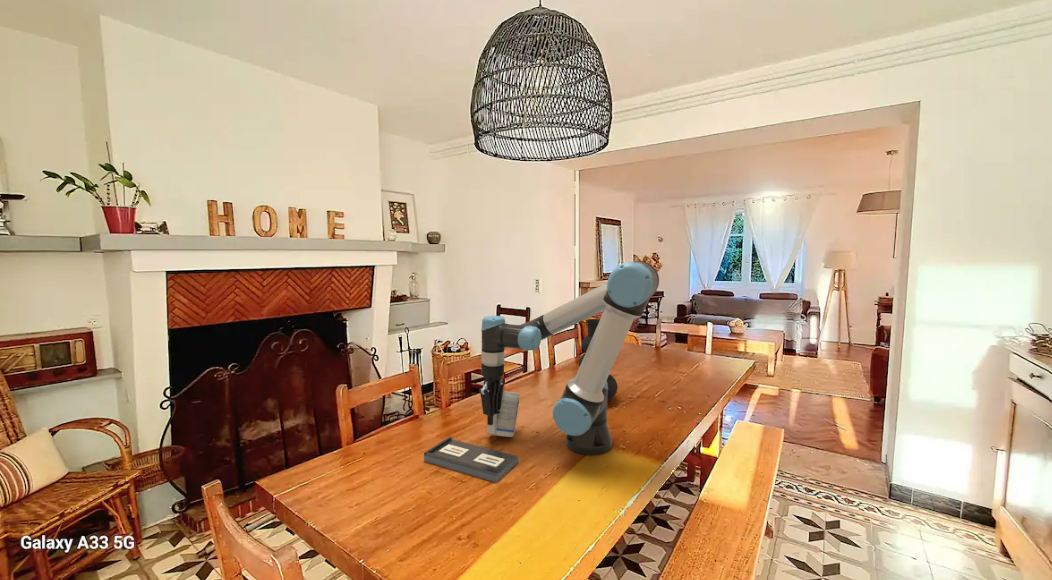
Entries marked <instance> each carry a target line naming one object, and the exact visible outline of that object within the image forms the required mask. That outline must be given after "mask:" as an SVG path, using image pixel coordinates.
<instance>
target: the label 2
mask: <svg viewBox="0 0 1052 580" xmlns="http://www.w3.org/2000/svg"><path fill="white" fill-rule="evenodd" d="M504 460H505V459H502V458H499V457H495V456H491V455H487V454H483V453H482V454H481V455H480V456H478V457H477V458H476V459H474V460H473V461H474V462H478V463H481V464H485V465H489V466H492V467H497V466H499V465H500V464H501V463H502V462H503V461H504Z"/></svg>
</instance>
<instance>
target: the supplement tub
mask: <svg viewBox="0 0 1052 580" xmlns="http://www.w3.org/2000/svg"><path fill="white" fill-rule="evenodd" d="M519 404H520V393H518V392H512V391H507V390H506V391H505V390H503V395H502V402H501V409H500V410H498V411H500V413H499V414H497V424H496V434H495V435H494V434H492V435H494V436H498V437H507V438H512V437H514V435H515V430H516V424H517V418H518V412H519ZM488 434H490V433H488ZM490 435H491V434H490Z"/></svg>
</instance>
